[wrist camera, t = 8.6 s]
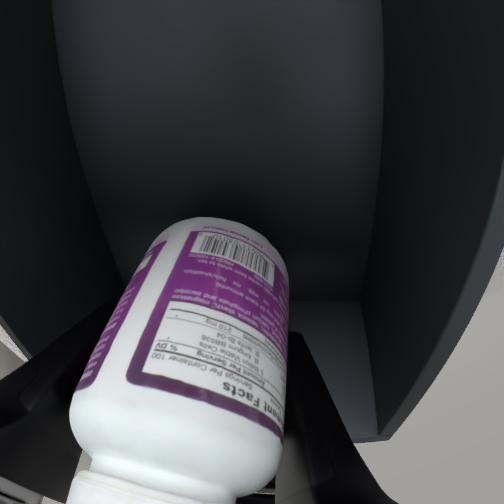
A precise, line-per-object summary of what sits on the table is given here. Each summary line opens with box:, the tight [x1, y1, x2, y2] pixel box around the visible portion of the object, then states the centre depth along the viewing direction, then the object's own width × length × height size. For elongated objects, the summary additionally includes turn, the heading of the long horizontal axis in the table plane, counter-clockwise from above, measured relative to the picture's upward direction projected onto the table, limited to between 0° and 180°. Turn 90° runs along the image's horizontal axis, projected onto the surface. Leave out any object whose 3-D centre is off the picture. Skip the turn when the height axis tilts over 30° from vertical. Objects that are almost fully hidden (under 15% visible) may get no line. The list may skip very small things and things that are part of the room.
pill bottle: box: [66, 217, 289, 504], centre depth 8 cm, size 5×5×10 cm
